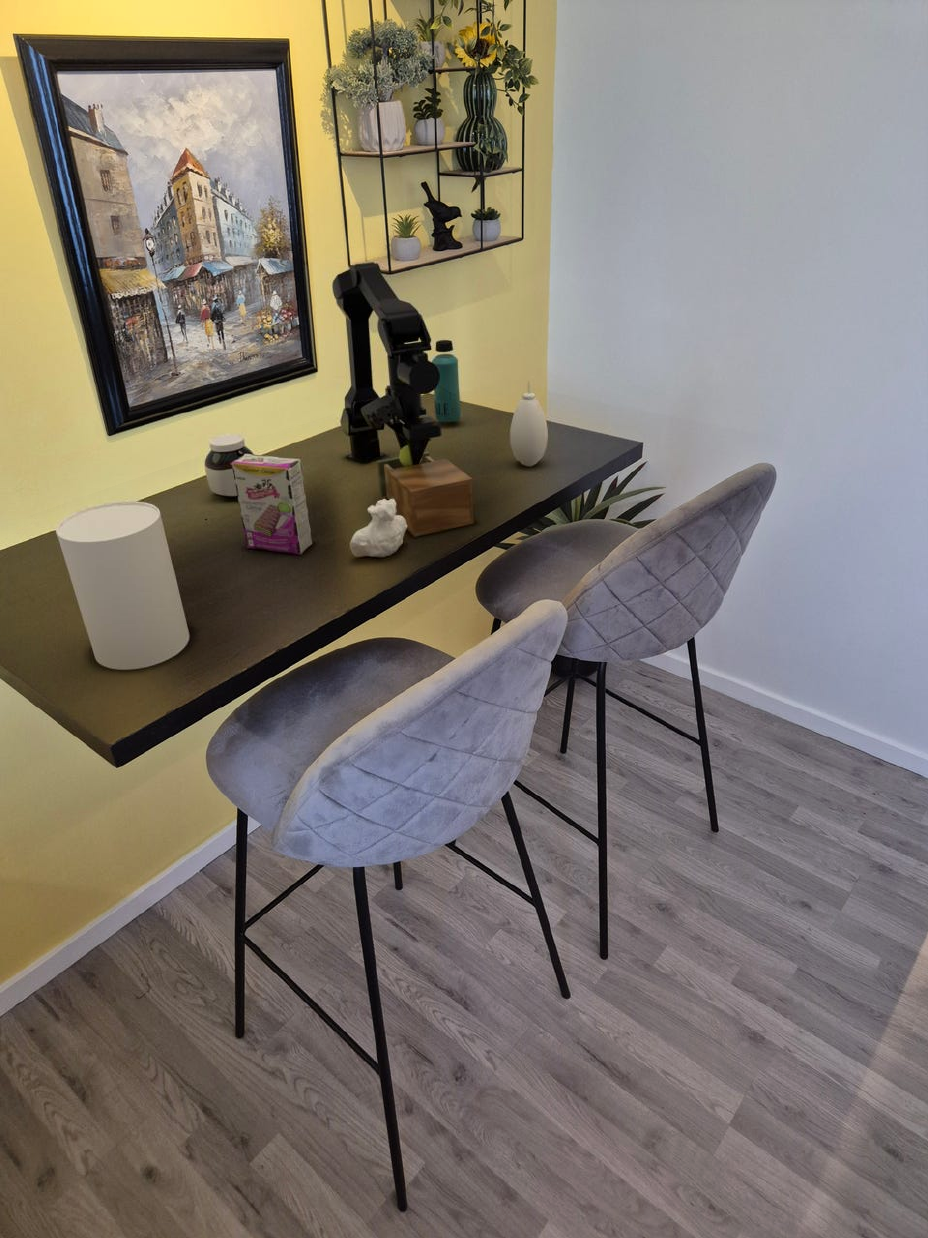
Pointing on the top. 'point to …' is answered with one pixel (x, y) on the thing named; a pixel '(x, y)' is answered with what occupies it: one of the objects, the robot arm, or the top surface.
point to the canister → (124, 583)
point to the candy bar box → (272, 503)
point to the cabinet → (432, 496)
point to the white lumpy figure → (380, 531)
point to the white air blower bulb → (528, 430)
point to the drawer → (390, 465)
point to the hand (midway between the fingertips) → (411, 462)
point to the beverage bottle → (447, 384)
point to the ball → (405, 456)
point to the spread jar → (224, 464)
